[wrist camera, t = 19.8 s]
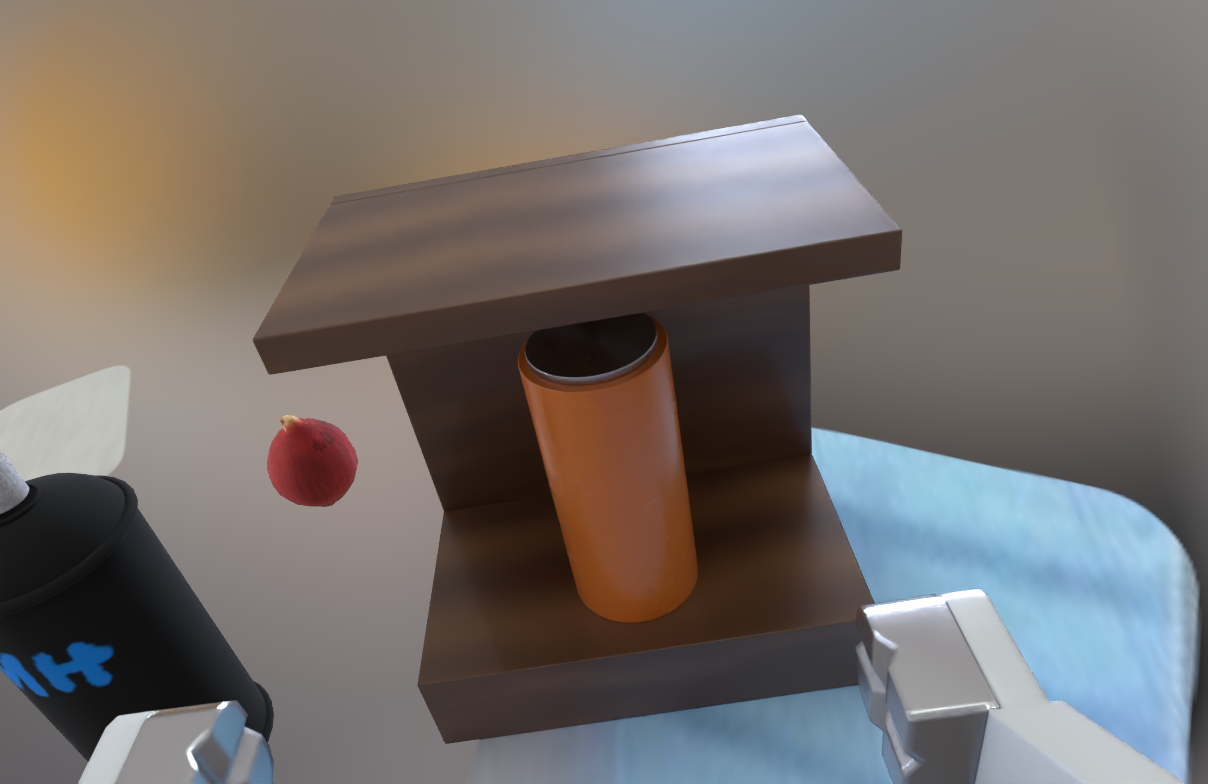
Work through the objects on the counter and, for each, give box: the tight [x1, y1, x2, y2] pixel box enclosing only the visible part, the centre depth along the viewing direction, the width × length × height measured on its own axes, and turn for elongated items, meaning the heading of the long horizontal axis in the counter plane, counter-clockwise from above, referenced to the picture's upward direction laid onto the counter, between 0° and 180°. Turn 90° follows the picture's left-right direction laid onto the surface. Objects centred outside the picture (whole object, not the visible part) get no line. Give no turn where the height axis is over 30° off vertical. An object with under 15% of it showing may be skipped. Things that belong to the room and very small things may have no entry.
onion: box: [267, 415, 358, 507], centre depth 57 cm, size 6×6×8 cm
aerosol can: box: [0, 451, 274, 762], centre depth 38 cm, size 8×8×20 cm
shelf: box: [253, 115, 902, 744], centre depth 39 cm, size 13×22×24 cm, turn 93°
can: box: [518, 313, 698, 623], centre depth 38 cm, size 6×6×14 cm
